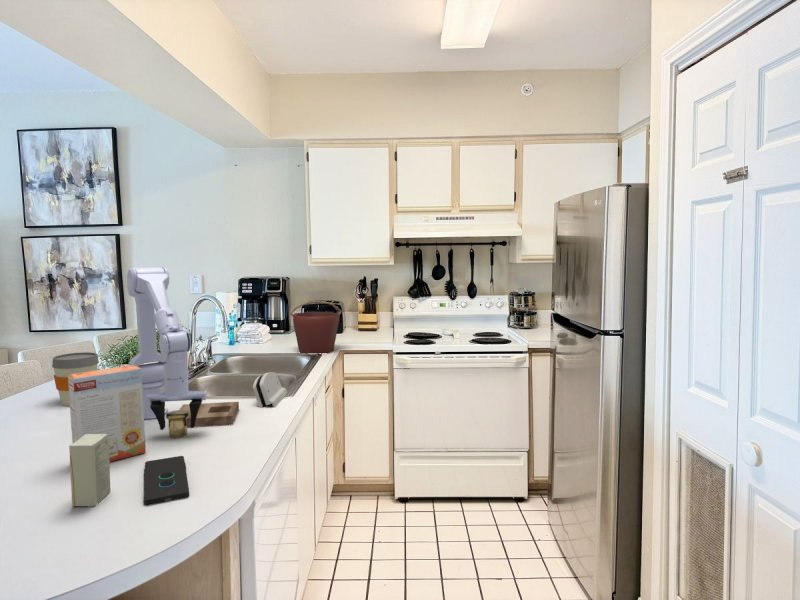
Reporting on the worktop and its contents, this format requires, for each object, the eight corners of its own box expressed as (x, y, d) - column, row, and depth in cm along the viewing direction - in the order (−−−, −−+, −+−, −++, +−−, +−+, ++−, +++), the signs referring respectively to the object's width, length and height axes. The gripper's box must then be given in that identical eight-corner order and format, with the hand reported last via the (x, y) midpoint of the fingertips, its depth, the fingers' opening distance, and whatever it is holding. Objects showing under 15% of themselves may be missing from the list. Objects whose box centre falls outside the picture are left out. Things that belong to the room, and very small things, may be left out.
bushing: (164, 439, 129) (163, 416, 128) (169, 432, 134) (169, 410, 133) (186, 438, 130) (186, 415, 129) (191, 431, 135) (190, 409, 134)
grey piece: (274, 407, 156) (263, 378, 155) (260, 412, 156) (249, 383, 155) (288, 393, 173) (277, 366, 172) (275, 397, 173) (265, 370, 172)
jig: (171, 428, 137) (171, 419, 137) (183, 412, 151) (183, 404, 150) (232, 424, 140) (232, 415, 140) (238, 409, 154) (238, 401, 154)
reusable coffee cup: (108, 400, 163) (106, 354, 162) (66, 410, 153) (63, 361, 151) (88, 394, 170) (86, 350, 169) (46, 403, 159) (44, 357, 158)
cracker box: (138, 446, 124) (134, 363, 122) (146, 453, 119) (143, 367, 118) (72, 462, 114) (67, 372, 112) (78, 471, 110) (73, 377, 108)
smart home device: (142, 500, 94) (144, 460, 112) (143, 508, 94) (144, 468, 112) (190, 491, 98) (184, 454, 116) (190, 499, 98) (184, 461, 116)
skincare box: (88, 492, 100) (85, 433, 99) (112, 491, 100) (109, 432, 99) (71, 508, 94) (67, 445, 93) (95, 507, 94) (92, 444, 93)
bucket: (344, 348, 257) (344, 299, 255) (335, 356, 235) (334, 303, 233) (298, 347, 259) (297, 299, 257) (284, 355, 238) (283, 303, 235)
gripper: (141, 382, 125) (143, 434, 126) (202, 379, 128) (204, 431, 129) (149, 375, 132) (151, 425, 133) (207, 373, 135) (209, 422, 136)
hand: (178, 427), depth 132 cm, fingers open, 7 cm apart
